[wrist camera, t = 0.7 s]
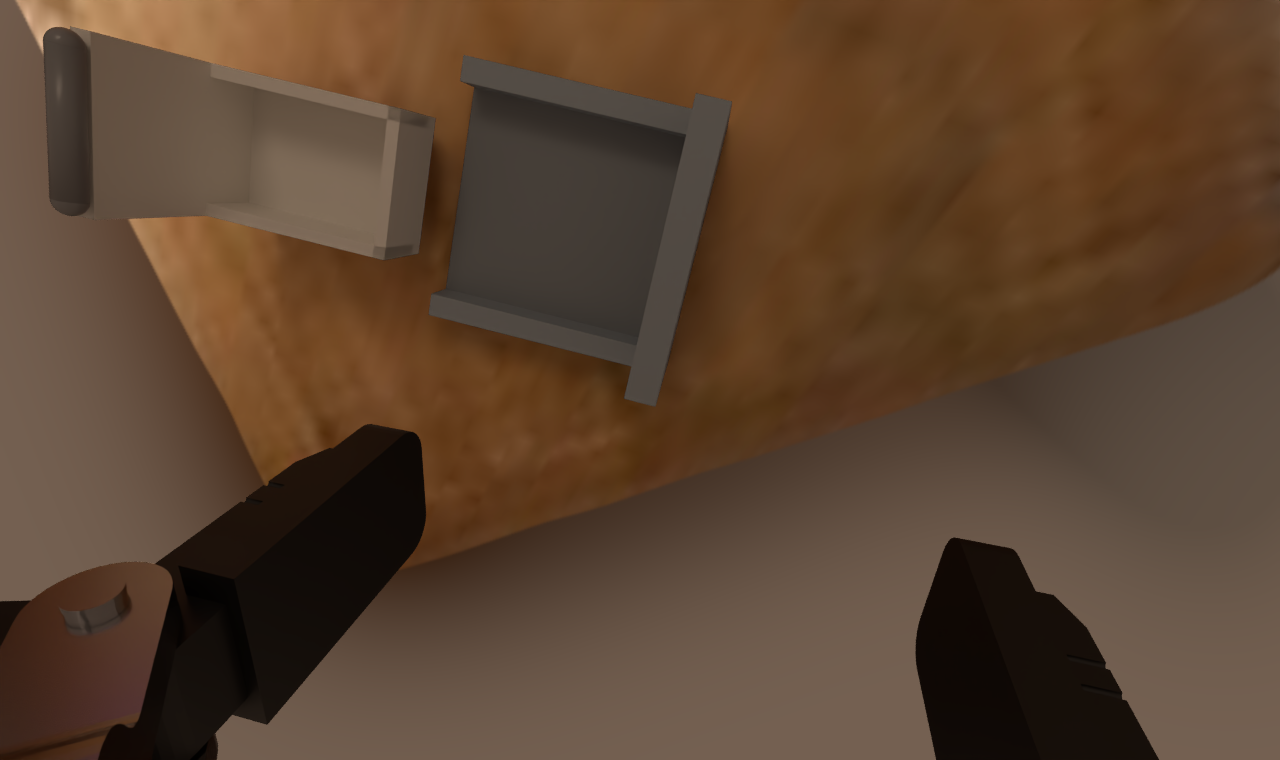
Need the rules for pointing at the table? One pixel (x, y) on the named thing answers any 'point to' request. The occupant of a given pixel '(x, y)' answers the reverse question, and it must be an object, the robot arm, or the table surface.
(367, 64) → the table surface
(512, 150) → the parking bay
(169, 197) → the toy cart
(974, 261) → the table surface
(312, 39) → the table surface
